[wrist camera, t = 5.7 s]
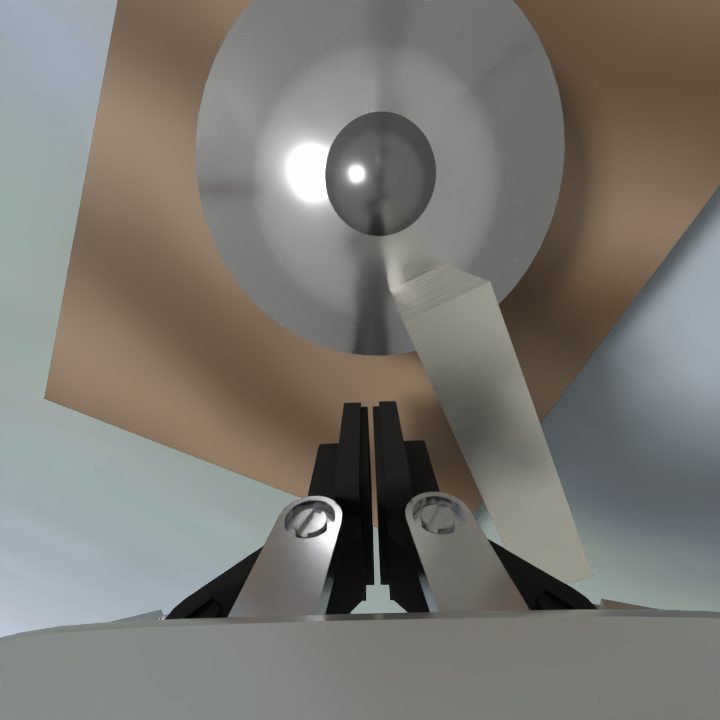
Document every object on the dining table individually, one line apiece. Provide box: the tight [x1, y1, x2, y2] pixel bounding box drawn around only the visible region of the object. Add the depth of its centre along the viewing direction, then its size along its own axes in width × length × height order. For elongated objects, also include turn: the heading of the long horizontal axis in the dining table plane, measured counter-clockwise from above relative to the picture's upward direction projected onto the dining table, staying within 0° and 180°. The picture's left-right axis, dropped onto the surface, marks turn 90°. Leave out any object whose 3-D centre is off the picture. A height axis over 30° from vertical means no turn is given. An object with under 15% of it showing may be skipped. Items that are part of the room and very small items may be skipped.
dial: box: [196, 0, 593, 584], centre depth 8 cm, size 14×9×5 cm, turn 26°
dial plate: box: [44, 0, 720, 528], centre depth 11 cm, size 23×17×2 cm
